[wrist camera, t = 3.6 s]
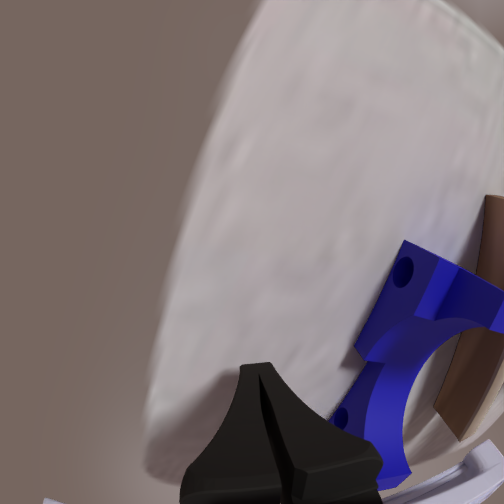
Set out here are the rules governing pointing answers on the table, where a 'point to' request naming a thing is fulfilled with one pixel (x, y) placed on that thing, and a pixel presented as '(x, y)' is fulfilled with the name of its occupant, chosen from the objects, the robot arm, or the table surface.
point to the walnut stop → (477, 343)
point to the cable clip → (410, 346)
